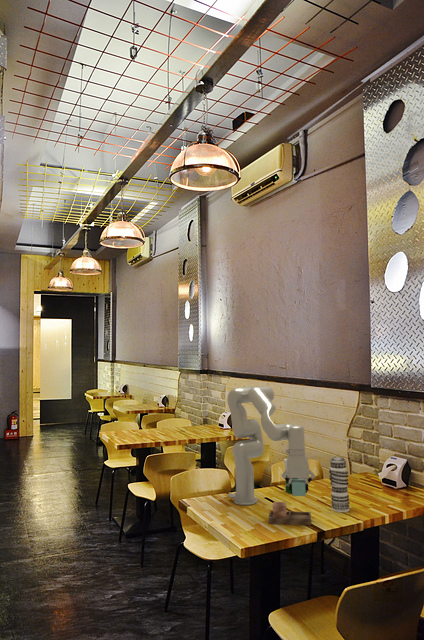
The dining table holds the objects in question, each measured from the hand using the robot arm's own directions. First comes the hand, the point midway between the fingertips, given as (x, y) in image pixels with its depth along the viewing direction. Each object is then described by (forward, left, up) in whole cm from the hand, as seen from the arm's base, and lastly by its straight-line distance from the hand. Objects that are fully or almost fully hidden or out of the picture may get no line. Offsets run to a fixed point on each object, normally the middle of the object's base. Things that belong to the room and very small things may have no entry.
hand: (299, 491), depth 217 cm
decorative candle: (+19, +19, -13) cm, 30 cm away
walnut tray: (-5, 0, -13) cm, 14 cm away
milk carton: (-4, +48, -13) cm, 50 cm away
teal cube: (0, 0, -1) cm, 1 cm away
